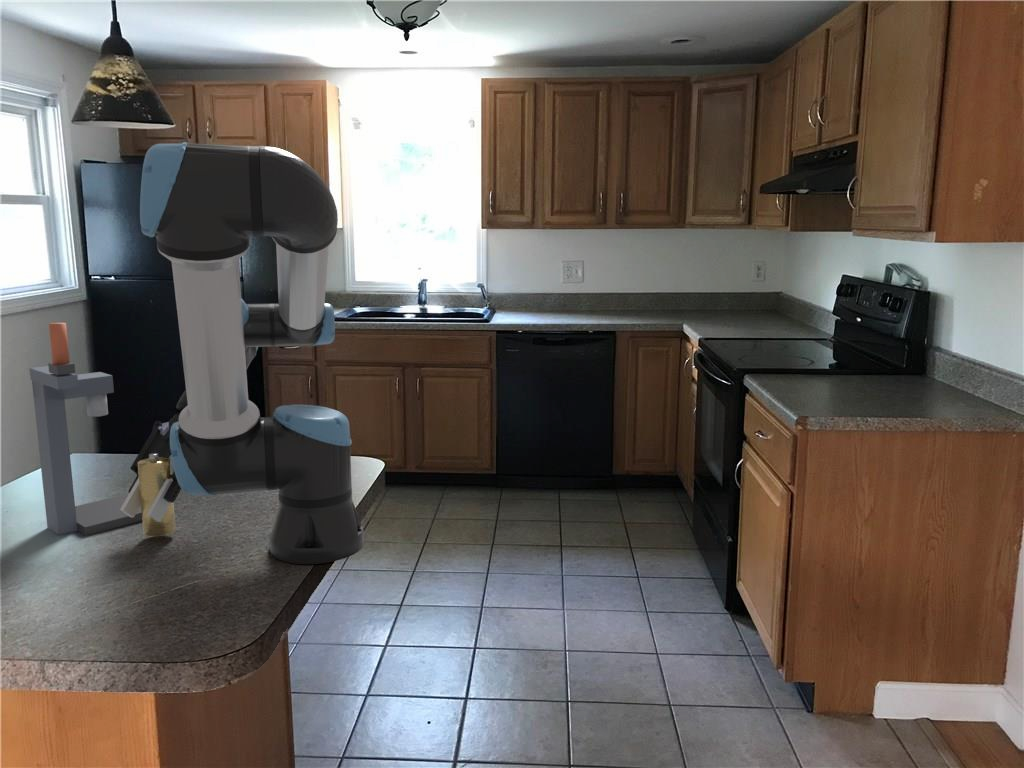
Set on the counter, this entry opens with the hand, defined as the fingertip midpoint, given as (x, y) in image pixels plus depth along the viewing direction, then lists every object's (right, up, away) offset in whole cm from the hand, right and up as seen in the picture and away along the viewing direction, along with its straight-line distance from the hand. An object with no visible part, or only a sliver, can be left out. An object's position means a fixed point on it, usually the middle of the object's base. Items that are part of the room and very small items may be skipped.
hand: (140, 515), depth 130 cm
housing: (+1, -3, +4) cm, 5 cm away
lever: (-11, +23, -2) cm, 26 cm away
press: (-12, -3, +11) cm, 17 cm away
